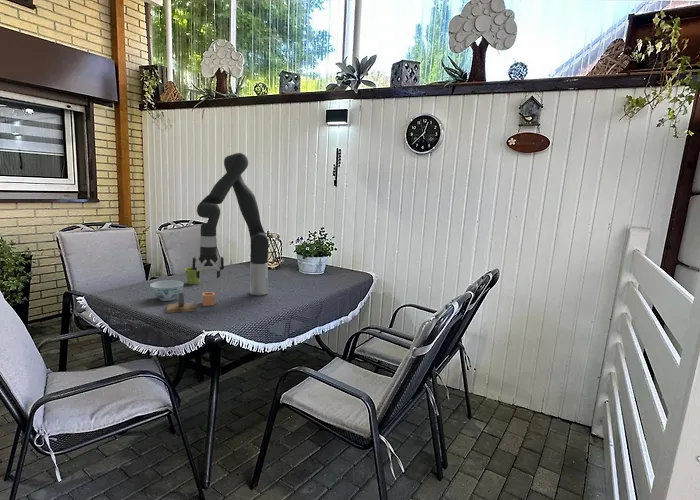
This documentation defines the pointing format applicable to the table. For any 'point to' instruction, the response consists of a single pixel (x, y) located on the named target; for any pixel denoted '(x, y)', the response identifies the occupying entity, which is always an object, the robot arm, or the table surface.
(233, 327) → the table surface
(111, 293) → the table surface
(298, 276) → the table surface
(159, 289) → the chinaware
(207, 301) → the orange hollow square block
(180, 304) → the shaft block
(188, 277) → the plant pot
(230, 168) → the robot arm
